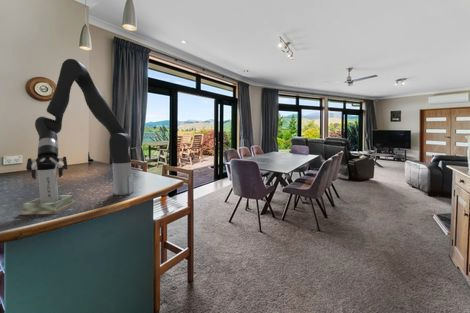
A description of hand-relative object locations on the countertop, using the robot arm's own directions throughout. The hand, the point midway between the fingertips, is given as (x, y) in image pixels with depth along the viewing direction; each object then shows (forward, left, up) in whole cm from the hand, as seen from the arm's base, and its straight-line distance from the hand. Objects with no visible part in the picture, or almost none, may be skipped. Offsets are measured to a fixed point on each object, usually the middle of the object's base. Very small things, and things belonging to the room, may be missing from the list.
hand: (47, 177), depth 100 cm
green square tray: (0, 0, -14) cm, 14 cm away
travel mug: (0, 0, -13) cm, 13 cm away
